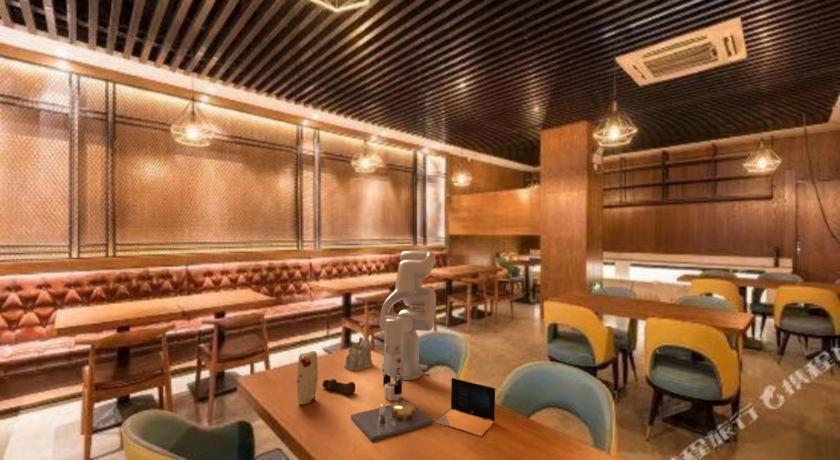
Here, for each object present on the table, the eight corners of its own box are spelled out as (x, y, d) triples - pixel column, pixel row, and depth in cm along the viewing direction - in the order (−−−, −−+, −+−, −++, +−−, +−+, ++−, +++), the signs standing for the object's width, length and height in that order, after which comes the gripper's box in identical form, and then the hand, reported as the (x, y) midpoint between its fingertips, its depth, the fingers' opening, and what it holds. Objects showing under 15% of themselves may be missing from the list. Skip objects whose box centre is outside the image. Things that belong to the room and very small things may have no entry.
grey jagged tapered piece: (361, 356, 215) (361, 329, 214) (377, 366, 202) (377, 337, 201) (335, 364, 205) (334, 336, 204) (350, 375, 192) (350, 345, 191)
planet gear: (396, 392, 169) (396, 380, 169) (404, 398, 163) (404, 386, 163) (381, 395, 165) (381, 383, 165) (389, 402, 159) (389, 390, 159)
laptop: (435, 424, 143) (435, 388, 143) (451, 410, 154) (451, 377, 154) (481, 438, 134) (482, 400, 134) (495, 423, 144) (495, 387, 144)
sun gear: (401, 406, 152) (401, 398, 152) (420, 413, 147) (420, 405, 147) (386, 415, 145) (386, 407, 145) (405, 422, 140) (405, 414, 140)
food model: (305, 408, 152) (306, 356, 152) (291, 405, 155) (292, 354, 155) (321, 398, 162) (322, 349, 161) (308, 395, 164) (308, 347, 164)
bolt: (325, 391, 174) (353, 397, 166) (318, 389, 170) (346, 395, 163) (330, 377, 176) (357, 383, 169) (323, 375, 172) (350, 380, 165)
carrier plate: (407, 404, 157) (408, 387, 157) (432, 424, 142) (432, 404, 142) (351, 418, 145) (351, 399, 145) (371, 441, 130) (372, 420, 130)
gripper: (411, 352, 158) (410, 395, 158) (391, 342, 173) (390, 381, 173) (395, 354, 154) (394, 399, 154) (376, 344, 169) (375, 384, 169)
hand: (392, 389), depth 163 cm, fingers open, 9 cm apart
